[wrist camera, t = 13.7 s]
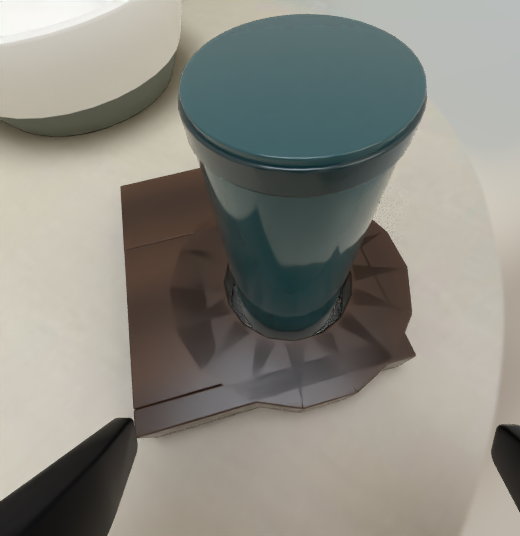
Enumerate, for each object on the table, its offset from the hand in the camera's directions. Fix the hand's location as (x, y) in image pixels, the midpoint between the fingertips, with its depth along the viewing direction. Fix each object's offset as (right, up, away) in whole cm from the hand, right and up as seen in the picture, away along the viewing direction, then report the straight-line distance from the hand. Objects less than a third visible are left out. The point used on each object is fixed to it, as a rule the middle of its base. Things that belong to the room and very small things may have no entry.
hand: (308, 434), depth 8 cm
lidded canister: (0, +3, +11) cm, 11 cm away
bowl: (-18, +23, +23) cm, 37 cm away
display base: (-2, +4, +12) cm, 12 cm away
